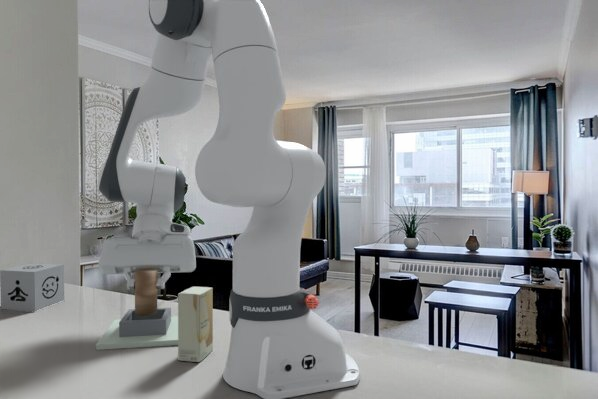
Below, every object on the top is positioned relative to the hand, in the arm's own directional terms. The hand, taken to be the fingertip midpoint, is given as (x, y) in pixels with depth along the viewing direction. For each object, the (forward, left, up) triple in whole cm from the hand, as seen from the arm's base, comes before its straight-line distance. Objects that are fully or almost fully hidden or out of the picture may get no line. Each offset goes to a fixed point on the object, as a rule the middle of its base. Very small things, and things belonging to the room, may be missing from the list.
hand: (145, 288), depth 92 cm
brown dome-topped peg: (0, -1, -5) cm, 5 cm away
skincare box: (-11, +13, -10) cm, 20 cm away
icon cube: (+32, -28, -10) cm, 44 cm away
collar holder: (0, -1, -10) cm, 10 cm away
